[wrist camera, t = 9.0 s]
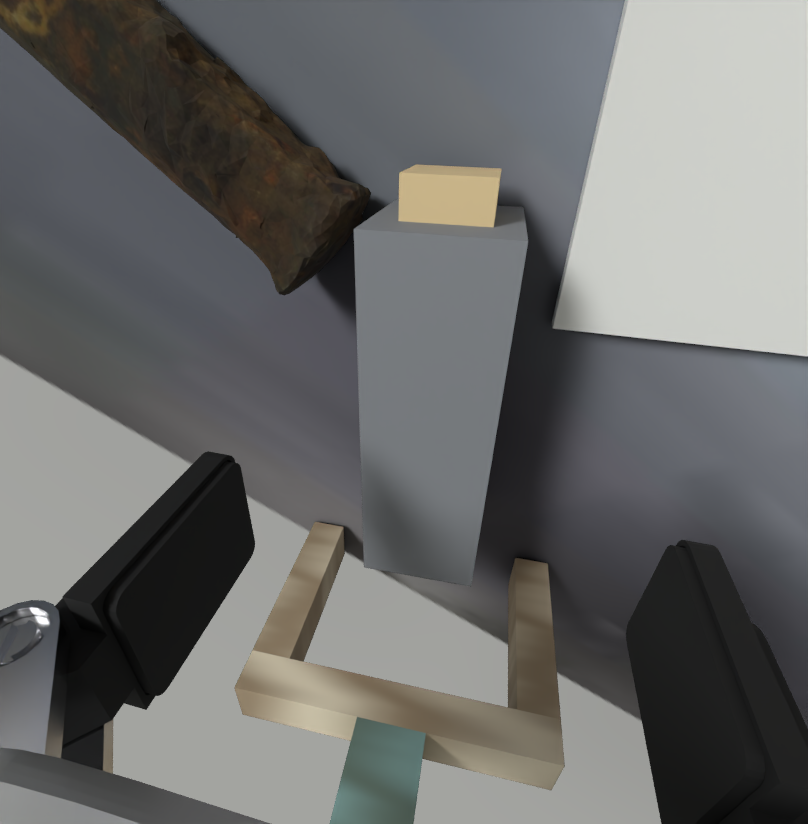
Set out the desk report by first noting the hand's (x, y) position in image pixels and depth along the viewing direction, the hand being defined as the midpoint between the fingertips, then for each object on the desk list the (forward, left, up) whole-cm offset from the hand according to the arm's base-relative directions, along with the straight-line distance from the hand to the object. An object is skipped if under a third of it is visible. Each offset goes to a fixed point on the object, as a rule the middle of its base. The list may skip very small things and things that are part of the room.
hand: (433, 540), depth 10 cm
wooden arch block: (-1, -10, -9) cm, 14 cm away
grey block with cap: (-1, 0, -9) cm, 9 cm away
